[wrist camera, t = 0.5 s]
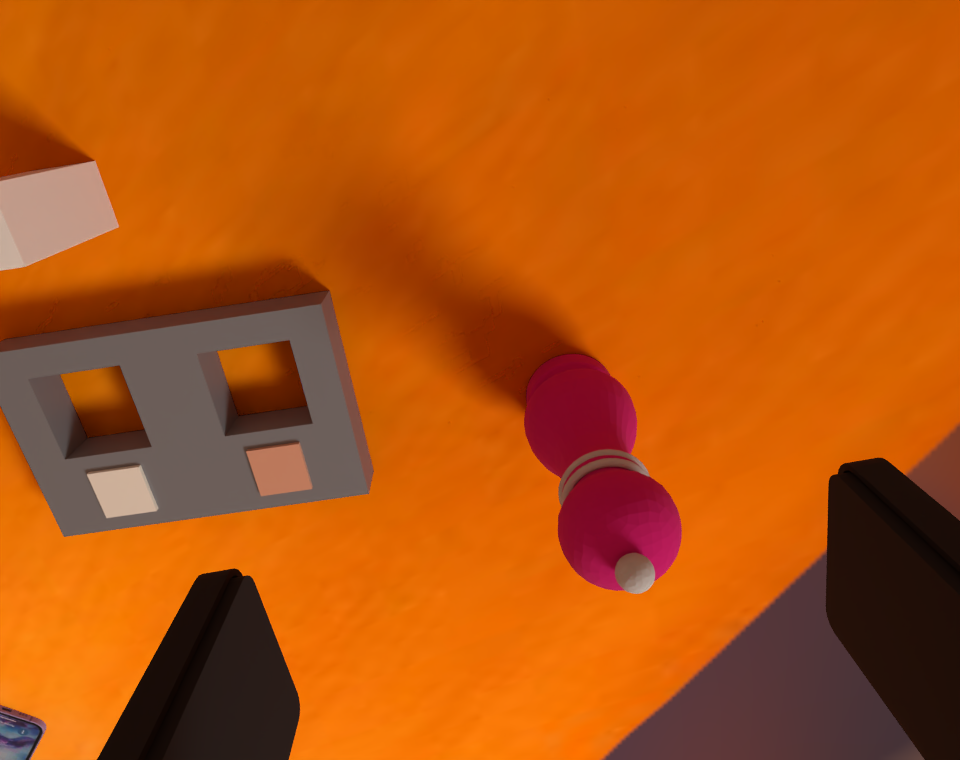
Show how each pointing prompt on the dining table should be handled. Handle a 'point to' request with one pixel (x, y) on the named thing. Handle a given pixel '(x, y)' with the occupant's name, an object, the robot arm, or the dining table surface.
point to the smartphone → (19, 734)
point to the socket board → (187, 418)
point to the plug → (51, 212)
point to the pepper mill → (600, 476)
